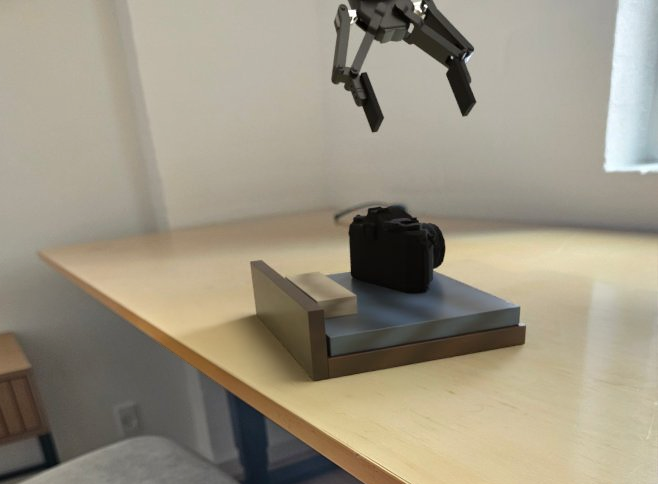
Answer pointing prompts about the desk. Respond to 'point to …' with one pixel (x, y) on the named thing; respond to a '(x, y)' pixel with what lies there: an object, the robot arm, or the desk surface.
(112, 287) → the desk surface
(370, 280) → the film camera
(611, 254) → the desk surface
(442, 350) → the bed
